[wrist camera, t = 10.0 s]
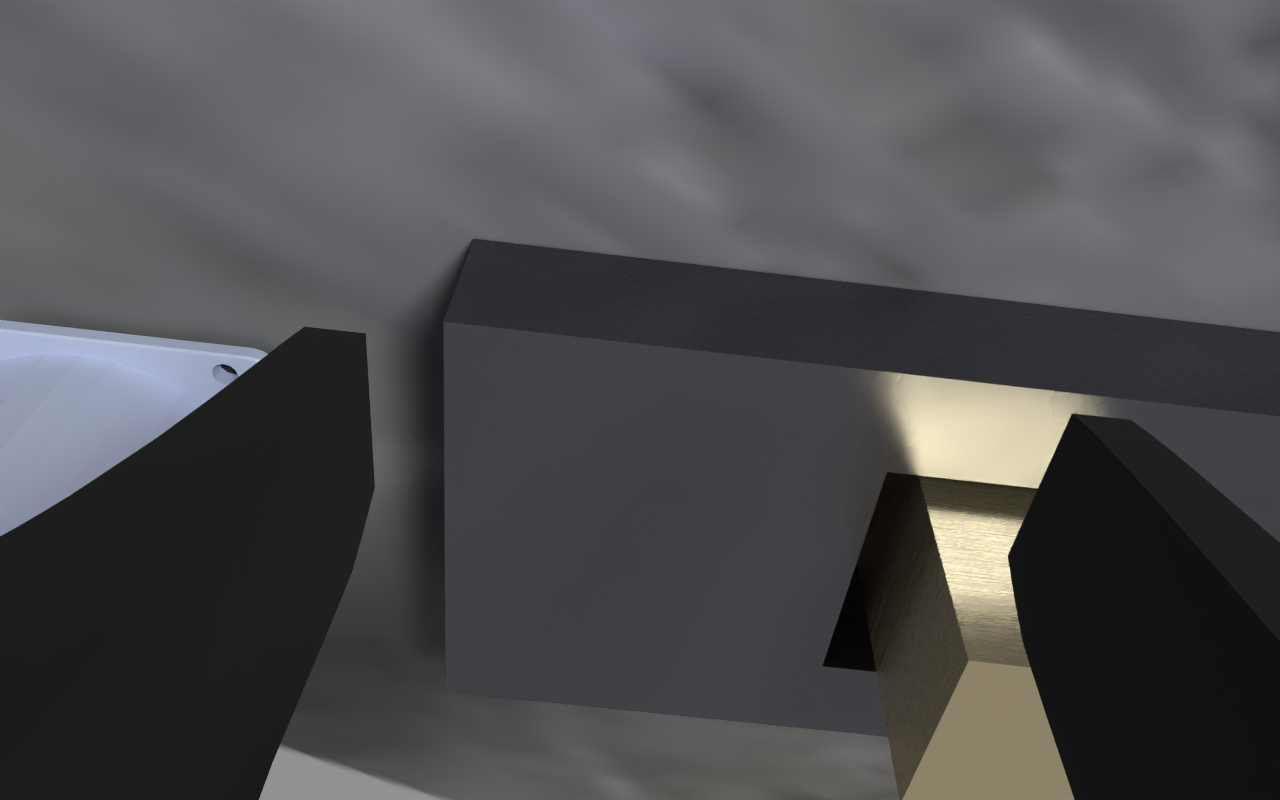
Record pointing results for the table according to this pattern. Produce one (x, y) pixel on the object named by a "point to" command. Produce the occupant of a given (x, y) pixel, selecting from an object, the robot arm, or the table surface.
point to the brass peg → (954, 643)
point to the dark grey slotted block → (762, 463)
